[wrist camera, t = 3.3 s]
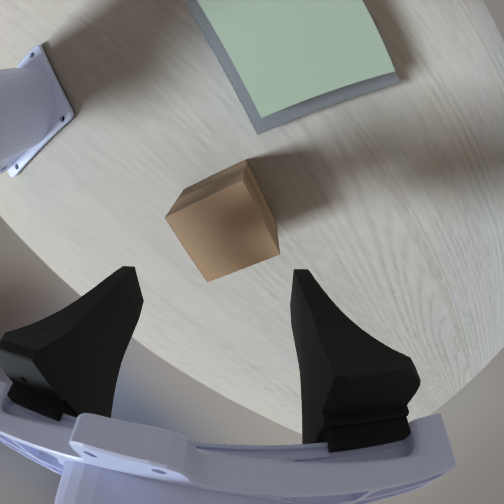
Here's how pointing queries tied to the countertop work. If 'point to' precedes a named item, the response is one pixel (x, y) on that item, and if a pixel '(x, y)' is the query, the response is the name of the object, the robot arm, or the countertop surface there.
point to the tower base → (291, 111)
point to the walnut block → (225, 222)
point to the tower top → (297, 47)
